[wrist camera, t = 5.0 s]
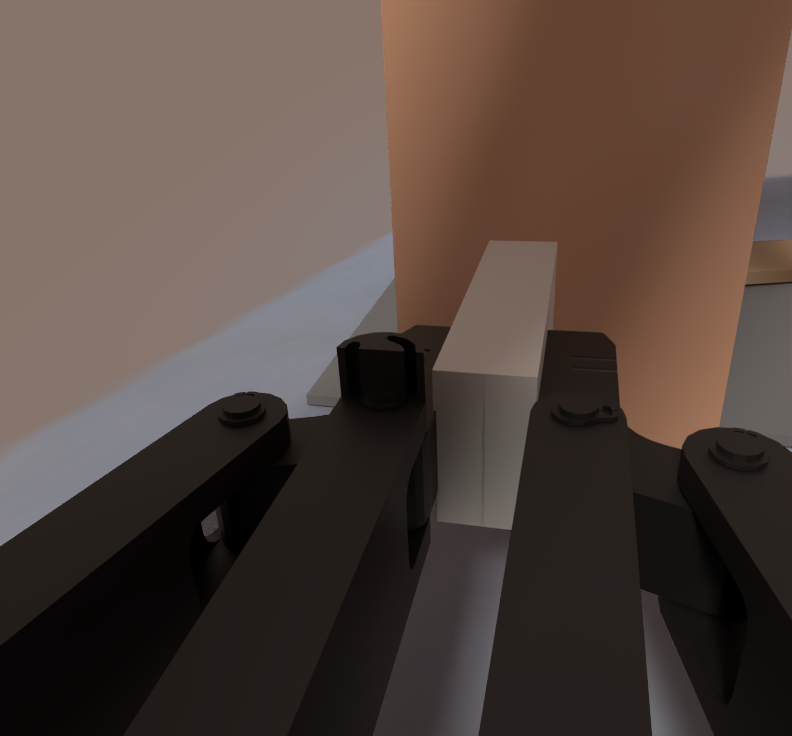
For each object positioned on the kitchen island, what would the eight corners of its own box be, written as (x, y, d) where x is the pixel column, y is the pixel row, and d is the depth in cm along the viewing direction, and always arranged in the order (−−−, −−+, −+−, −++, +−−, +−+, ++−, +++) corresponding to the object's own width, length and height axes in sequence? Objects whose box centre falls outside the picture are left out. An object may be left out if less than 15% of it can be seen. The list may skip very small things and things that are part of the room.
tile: (697, 453, 22) (784, -62, 16) (706, 496, 20) (810, -72, 14) (420, 428, 24) (402, -35, 18) (404, 464, 22) (378, -40, 16)
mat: (795, 282, 35) (797, 274, 35) (922, 458, 21) (926, 447, 21) (407, 267, 40) (407, 261, 40) (307, 404, 26) (306, 395, 26)
